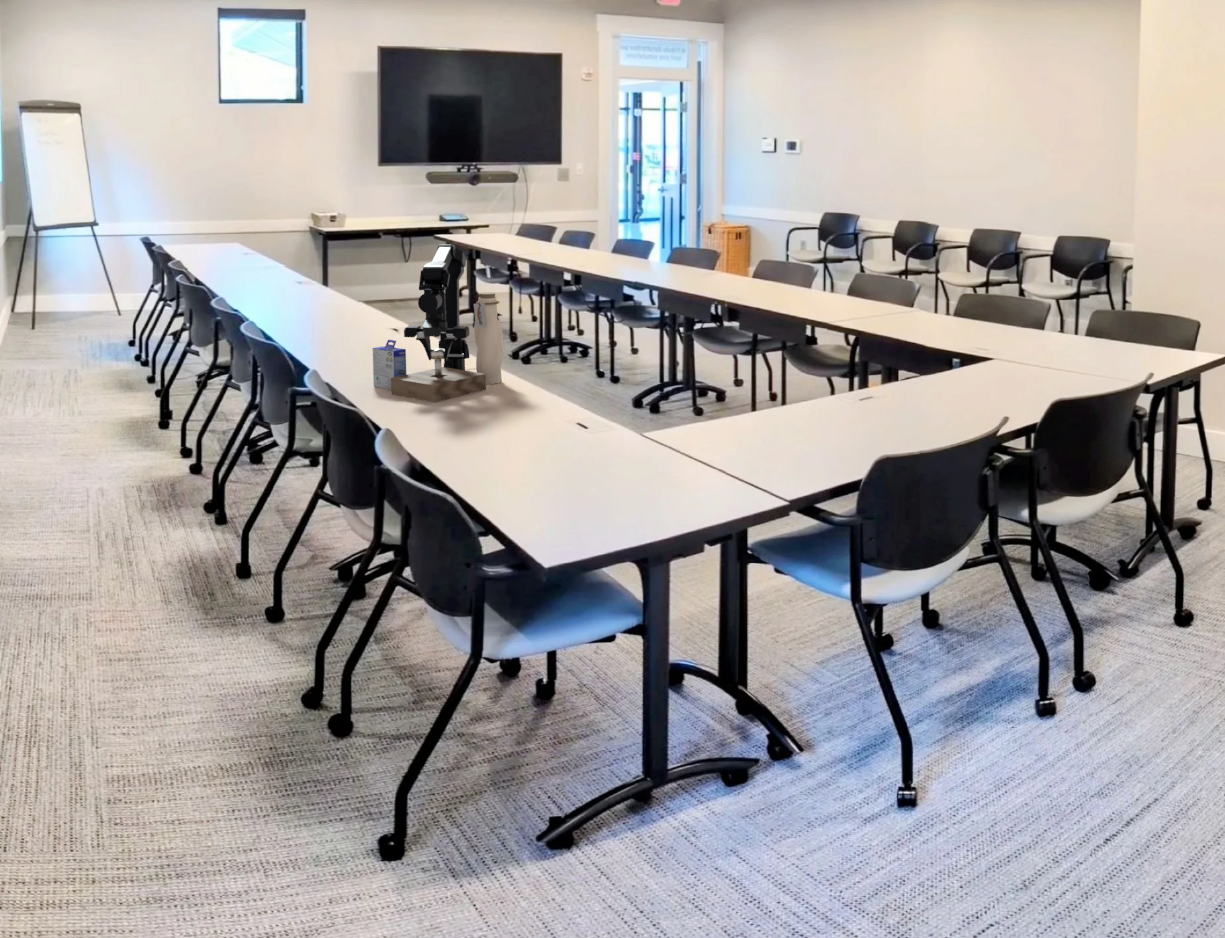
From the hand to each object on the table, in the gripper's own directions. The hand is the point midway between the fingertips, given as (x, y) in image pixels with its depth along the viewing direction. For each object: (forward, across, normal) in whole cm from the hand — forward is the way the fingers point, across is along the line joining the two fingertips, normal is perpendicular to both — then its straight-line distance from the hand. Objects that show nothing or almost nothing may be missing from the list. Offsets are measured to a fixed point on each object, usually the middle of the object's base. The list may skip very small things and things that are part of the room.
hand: (437, 360), depth 340 cm
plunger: (+5, 0, 0) cm, 5 cm away
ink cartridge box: (+10, -16, +6) cm, 20 cm away
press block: (+10, 0, 0) cm, 10 cm away
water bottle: (+10, +13, +16) cm, 22 cm away
